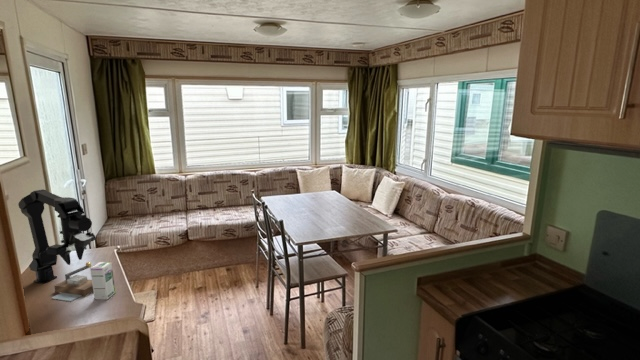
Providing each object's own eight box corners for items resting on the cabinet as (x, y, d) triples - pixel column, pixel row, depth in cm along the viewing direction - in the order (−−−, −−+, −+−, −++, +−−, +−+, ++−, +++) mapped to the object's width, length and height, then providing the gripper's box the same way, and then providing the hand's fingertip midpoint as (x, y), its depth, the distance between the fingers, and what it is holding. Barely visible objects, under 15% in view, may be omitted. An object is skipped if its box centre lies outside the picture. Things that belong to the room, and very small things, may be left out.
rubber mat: (51, 298, 146) (51, 297, 146) (62, 293, 151) (62, 292, 151) (70, 301, 144) (70, 300, 144) (81, 295, 149) (81, 295, 149)
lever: (67, 282, 153) (66, 273, 152) (64, 282, 154) (63, 272, 153) (93, 271, 164) (91, 262, 163) (89, 271, 165) (88, 261, 164)
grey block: (67, 284, 152) (66, 279, 151) (76, 280, 156) (75, 275, 156) (78, 286, 151) (77, 281, 150) (87, 281, 155) (86, 276, 154)
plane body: (55, 291, 152) (54, 285, 151) (71, 283, 160) (70, 277, 159) (85, 296, 148) (84, 289, 148) (100, 287, 156) (100, 281, 155)
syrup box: (107, 299, 146) (103, 267, 143) (93, 299, 146) (89, 267, 143) (115, 293, 151) (112, 261, 149) (102, 292, 151) (98, 261, 149)
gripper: (65, 236, 138) (70, 273, 141) (103, 222, 156) (107, 255, 159) (42, 234, 140) (48, 270, 143) (83, 221, 158) (87, 253, 161)
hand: (74, 262), depth 152 cm, fingers open, 5 cm apart
